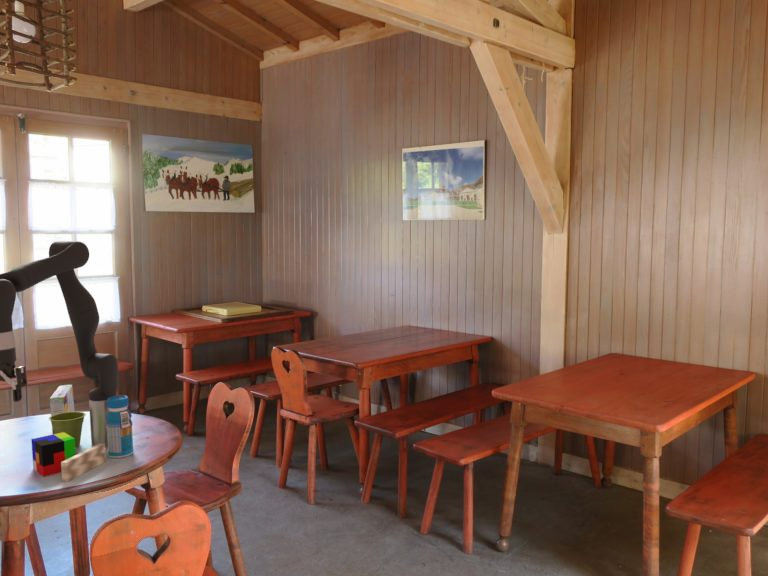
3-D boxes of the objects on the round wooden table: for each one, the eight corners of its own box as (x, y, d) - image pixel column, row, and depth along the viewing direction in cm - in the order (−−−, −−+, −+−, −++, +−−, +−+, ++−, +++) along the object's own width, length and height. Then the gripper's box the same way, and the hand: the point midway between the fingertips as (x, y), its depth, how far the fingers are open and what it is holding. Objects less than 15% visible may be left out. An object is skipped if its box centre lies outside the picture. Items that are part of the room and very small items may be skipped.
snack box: (60, 421, 267) (58, 385, 266) (75, 420, 269) (73, 384, 267) (51, 436, 247) (48, 397, 246) (67, 435, 249) (65, 396, 247)
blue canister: (105, 460, 220) (102, 401, 219) (109, 451, 228) (106, 395, 227) (132, 457, 223) (129, 399, 221) (135, 449, 231) (132, 393, 229)
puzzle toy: (33, 469, 213) (31, 439, 212) (65, 461, 220) (63, 432, 219) (43, 477, 206) (41, 446, 205) (76, 468, 213) (74, 438, 212)
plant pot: (73, 452, 228) (71, 421, 227) (43, 451, 231) (41, 419, 230) (94, 442, 240) (92, 411, 239) (65, 440, 242) (64, 410, 241)
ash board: (100, 461, 219) (99, 443, 219) (105, 461, 219) (104, 443, 218) (62, 481, 202) (60, 462, 201) (67, 481, 201) (66, 462, 201)
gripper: (30, 344, 195) (35, 398, 196) (-10, 343, 198) (-5, 396, 200) (11, 349, 187) (15, 405, 189) (-31, 348, 191) (-26, 403, 192)
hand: (5, 400), depth 194 cm, fingers open, 8 cm apart
